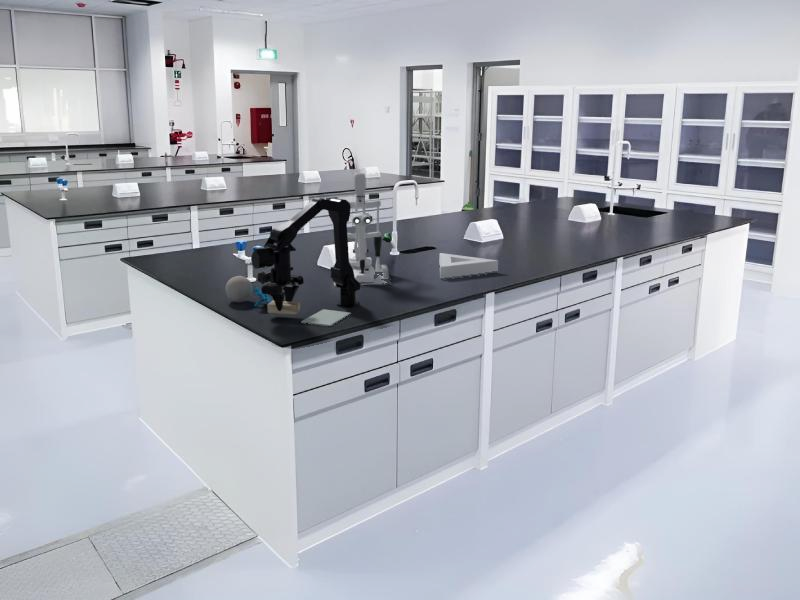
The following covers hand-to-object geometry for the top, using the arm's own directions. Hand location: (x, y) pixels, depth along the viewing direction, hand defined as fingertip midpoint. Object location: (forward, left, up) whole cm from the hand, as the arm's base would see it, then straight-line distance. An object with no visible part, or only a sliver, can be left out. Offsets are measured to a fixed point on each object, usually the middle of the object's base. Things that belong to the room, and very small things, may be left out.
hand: (283, 308), depth 242 cm
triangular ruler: (-94, +39, -4) cm, 102 cm away
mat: (-5, +14, -3) cm, 15 cm away
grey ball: (-11, -26, -4) cm, 28 cm away
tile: (0, 0, -1) cm, 1 cm away
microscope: (-63, 0, -4) cm, 63 cm away
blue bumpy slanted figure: (-10, -14, -4) cm, 18 cm away
